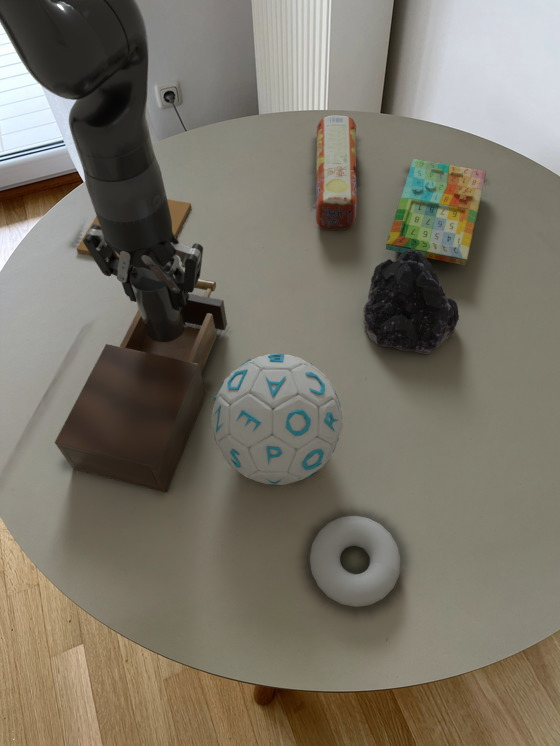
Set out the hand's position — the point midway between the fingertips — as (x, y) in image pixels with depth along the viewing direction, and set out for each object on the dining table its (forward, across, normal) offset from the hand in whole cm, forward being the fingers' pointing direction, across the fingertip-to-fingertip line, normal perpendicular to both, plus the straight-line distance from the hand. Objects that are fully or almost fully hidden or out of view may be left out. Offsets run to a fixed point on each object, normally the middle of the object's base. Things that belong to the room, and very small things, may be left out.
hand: (158, 300), depth 81 cm
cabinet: (+12, 0, +12) cm, 17 cm away
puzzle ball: (+12, -18, +10) cm, 24 cm away
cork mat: (+12, +15, -22) cm, 29 cm away
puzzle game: (+11, -31, -34) cm, 47 cm away
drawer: (+11, 0, -2) cm, 11 cm away
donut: (+11, -30, +22) cm, 39 cm away
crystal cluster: (+11, -30, -14) cm, 35 cm away
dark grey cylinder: (+5, 0, 0) cm, 5 cm away
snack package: (+12, -14, -39) cm, 43 cm away
